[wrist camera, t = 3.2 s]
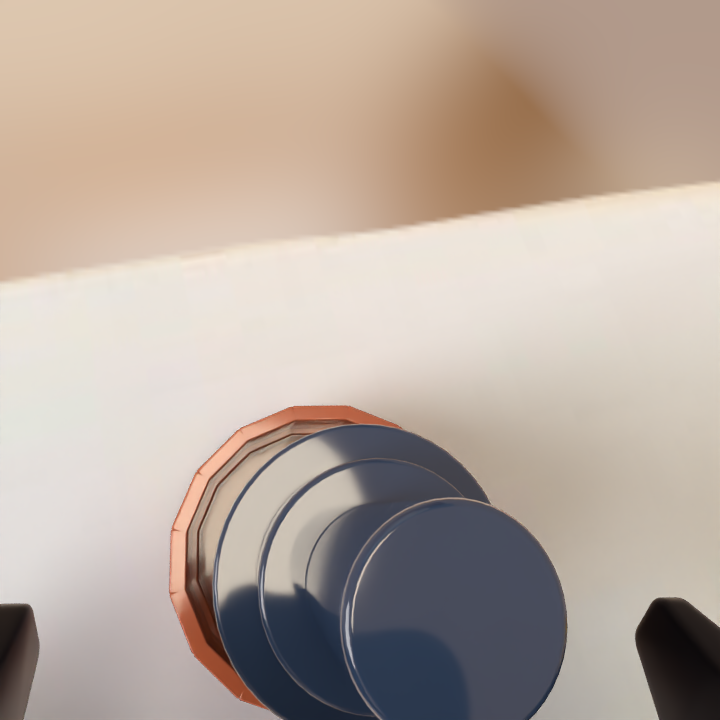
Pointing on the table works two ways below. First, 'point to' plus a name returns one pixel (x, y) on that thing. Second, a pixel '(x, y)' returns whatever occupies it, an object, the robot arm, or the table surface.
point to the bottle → (384, 586)
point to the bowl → (209, 511)
